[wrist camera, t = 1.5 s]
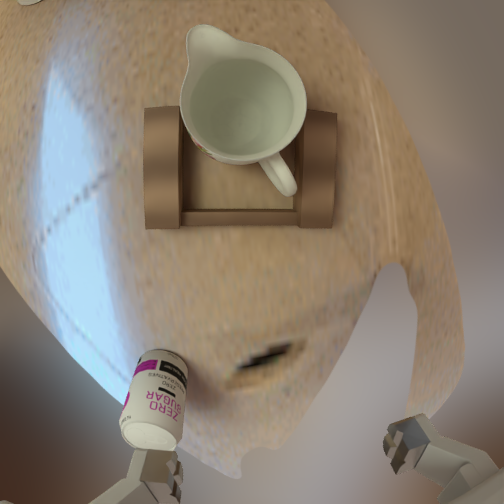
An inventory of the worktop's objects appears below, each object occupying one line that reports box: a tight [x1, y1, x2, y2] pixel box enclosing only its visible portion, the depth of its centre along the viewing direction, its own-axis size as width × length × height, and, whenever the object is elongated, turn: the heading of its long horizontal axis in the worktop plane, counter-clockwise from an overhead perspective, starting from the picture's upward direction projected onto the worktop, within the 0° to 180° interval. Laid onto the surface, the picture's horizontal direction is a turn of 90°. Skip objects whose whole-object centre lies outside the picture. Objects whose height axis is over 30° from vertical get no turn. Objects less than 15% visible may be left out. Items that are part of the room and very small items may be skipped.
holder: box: [143, 106, 337, 229], centre depth 33 cm, size 14×22×4 cm, turn 89°
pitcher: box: [180, 24, 307, 197], centre depth 27 cm, size 11×18×14 cm, turn 31°
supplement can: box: [119, 350, 188, 451], centre depth 36 cm, size 8×8×15 cm
